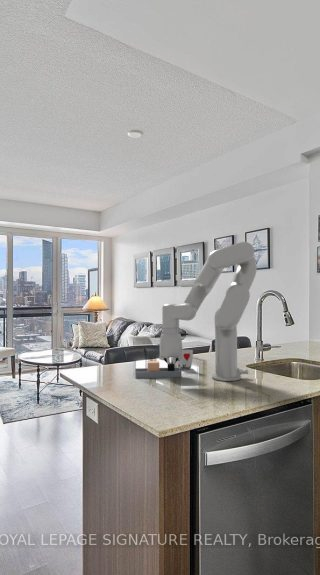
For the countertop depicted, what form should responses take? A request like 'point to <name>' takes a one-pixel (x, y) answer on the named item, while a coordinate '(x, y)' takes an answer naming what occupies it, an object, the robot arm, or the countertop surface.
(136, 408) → the countertop surface
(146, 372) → the grey railed tray
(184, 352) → the cup
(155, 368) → the block
